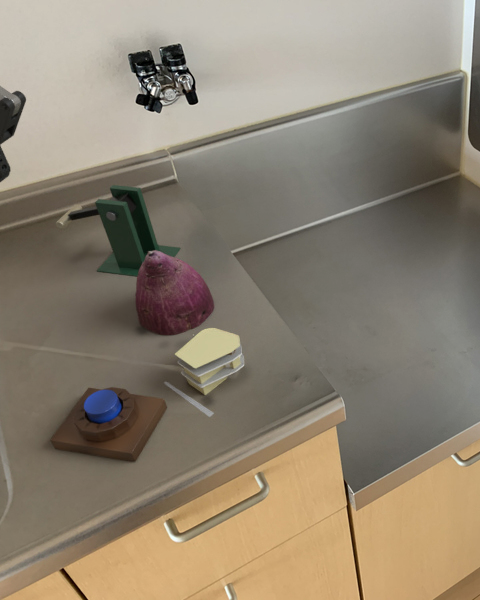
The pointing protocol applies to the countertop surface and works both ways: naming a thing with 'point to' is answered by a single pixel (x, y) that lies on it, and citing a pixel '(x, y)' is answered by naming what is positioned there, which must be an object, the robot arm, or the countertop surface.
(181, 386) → the countertop surface
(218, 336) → the yellow layered block
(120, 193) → the switch bracket
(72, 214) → the lever
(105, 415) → the button
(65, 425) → the switch box
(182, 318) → the vegetable
